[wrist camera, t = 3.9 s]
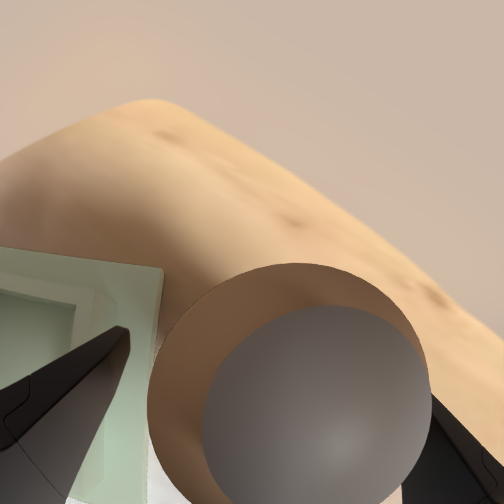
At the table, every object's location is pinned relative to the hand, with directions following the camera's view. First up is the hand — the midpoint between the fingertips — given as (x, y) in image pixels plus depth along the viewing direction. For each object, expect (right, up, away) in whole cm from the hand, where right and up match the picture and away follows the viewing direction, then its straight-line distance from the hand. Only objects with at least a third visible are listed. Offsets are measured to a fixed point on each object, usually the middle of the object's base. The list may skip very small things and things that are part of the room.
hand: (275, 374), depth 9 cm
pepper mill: (-1, -3, +7) cm, 7 cm away
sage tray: (-15, -3, +5) cm, 16 cm away
